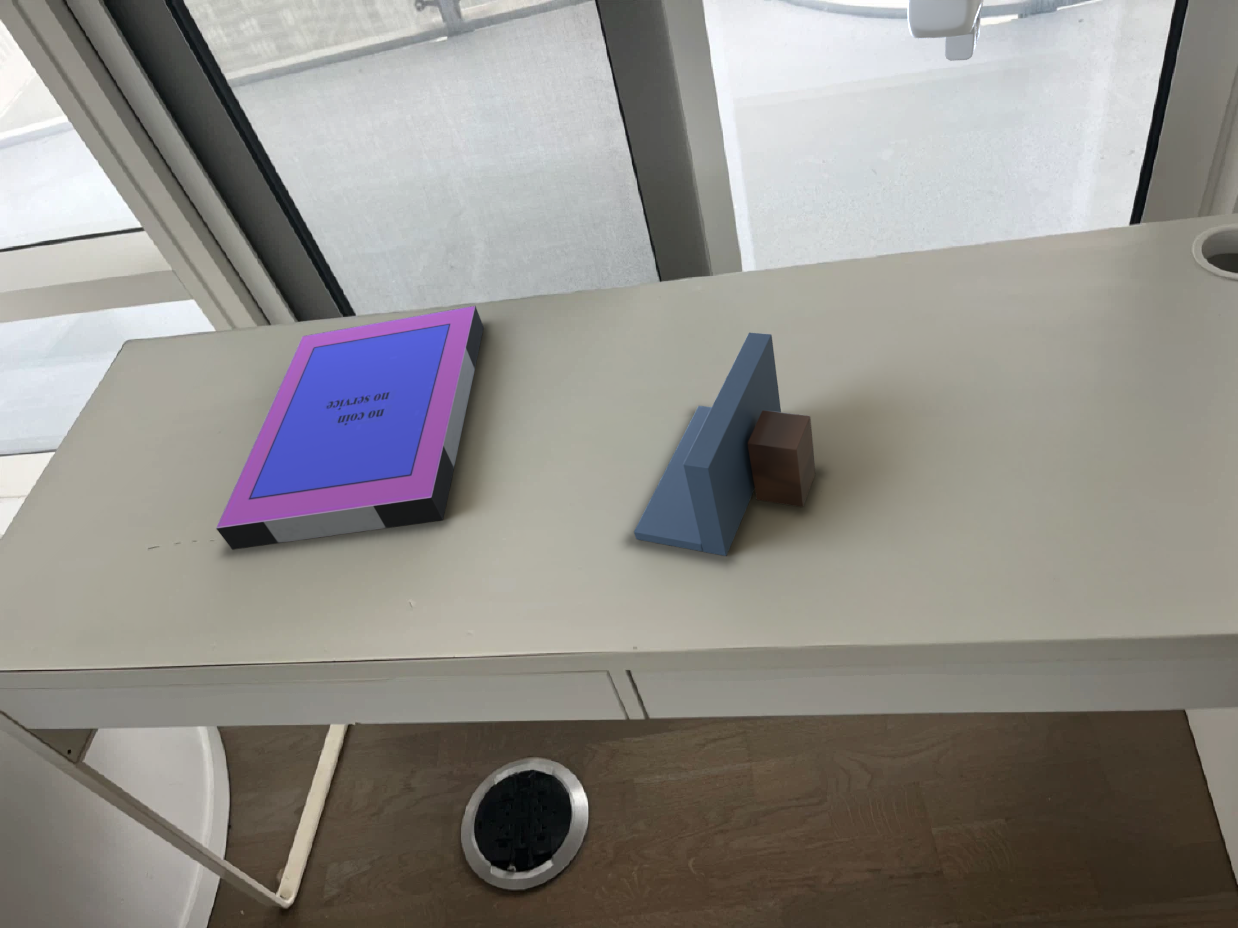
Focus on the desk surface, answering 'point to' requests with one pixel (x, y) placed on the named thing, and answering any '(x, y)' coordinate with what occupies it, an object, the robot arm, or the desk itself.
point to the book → (359, 432)
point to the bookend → (715, 460)
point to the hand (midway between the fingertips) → (962, 51)
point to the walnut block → (782, 457)
